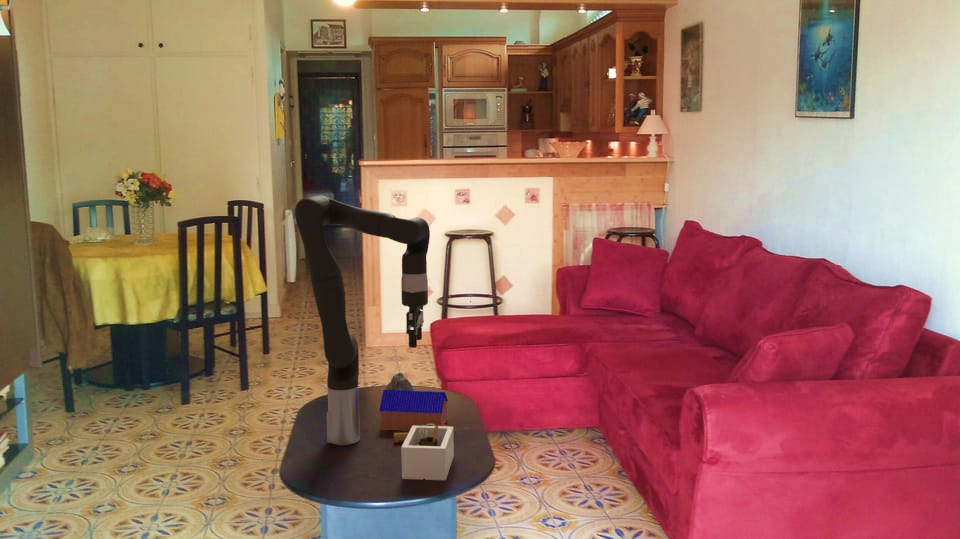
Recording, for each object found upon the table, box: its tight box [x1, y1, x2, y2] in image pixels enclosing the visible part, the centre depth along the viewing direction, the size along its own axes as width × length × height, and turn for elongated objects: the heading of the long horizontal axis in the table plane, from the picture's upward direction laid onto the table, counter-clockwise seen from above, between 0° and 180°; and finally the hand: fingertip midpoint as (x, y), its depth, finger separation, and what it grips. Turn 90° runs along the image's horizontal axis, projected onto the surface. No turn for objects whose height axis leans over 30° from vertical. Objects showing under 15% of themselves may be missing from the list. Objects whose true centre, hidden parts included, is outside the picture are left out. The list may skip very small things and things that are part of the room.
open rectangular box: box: [400, 426, 455, 481], centre depth 234 cm, size 12×17×9 cm
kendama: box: [393, 424, 451, 444], centre depth 253 cm, size 8×6×18 cm
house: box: [378, 389, 449, 432], centre depth 268 cm, size 12×20×12 cm, turn 83°
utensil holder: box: [419, 425, 439, 446], centre depth 234 cm, size 6×6×12 cm
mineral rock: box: [384, 372, 415, 391], centre depth 294 cm, size 13×11×10 cm
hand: (415, 343), depth 240 cm, fingers open, 8 cm apart
